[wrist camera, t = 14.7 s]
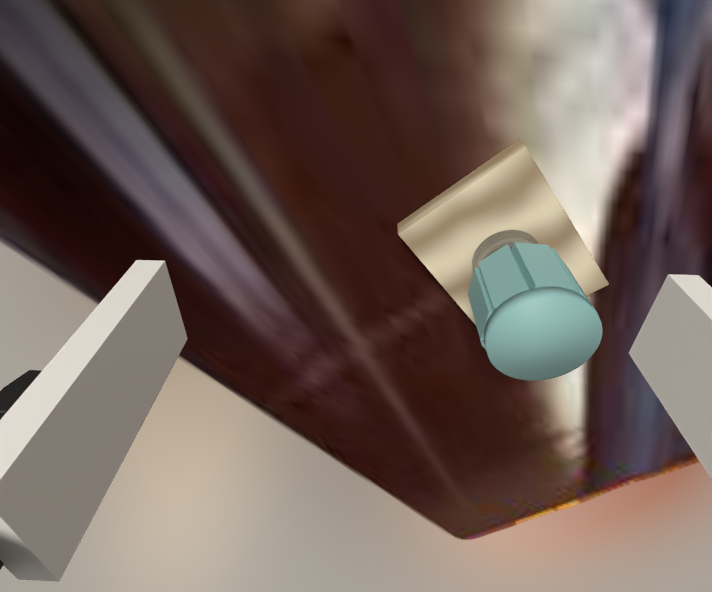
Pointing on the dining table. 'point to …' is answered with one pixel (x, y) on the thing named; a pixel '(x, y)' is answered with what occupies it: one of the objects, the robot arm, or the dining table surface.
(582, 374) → the dining table surface
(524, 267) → the cap
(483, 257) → the knobbed metal weight
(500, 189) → the board
